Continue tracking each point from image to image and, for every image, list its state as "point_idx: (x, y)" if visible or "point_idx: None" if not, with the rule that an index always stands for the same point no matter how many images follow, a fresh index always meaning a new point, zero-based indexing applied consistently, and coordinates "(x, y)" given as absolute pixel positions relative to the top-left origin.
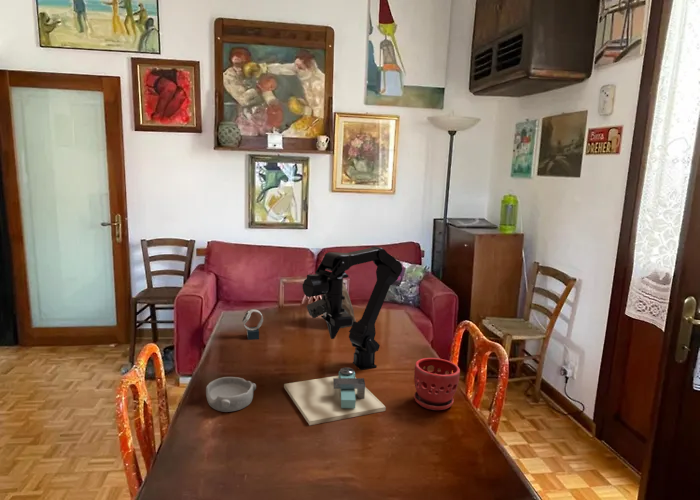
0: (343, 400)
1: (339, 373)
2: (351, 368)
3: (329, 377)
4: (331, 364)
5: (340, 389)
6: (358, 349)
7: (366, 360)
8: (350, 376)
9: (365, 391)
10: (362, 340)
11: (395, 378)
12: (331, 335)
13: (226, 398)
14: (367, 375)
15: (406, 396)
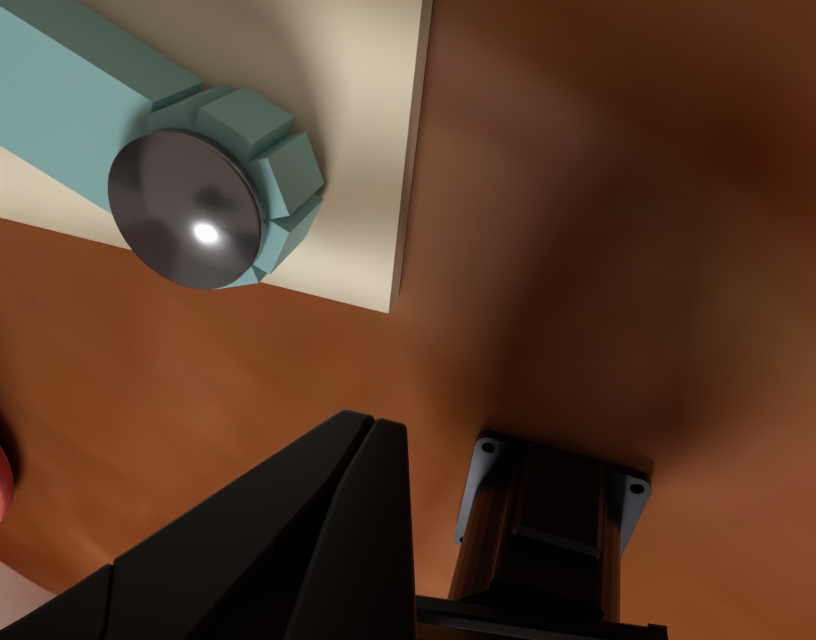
0: None
1: (207, 123)
2: (213, 285)
3: (401, 61)
4: (782, 316)
5: (104, 10)
6: (546, 603)
7: (466, 534)
8: None
9: (38, 195)
10: None
11: None
12: (269, 461)
13: None
14: (370, 408)
15: (18, 386)
